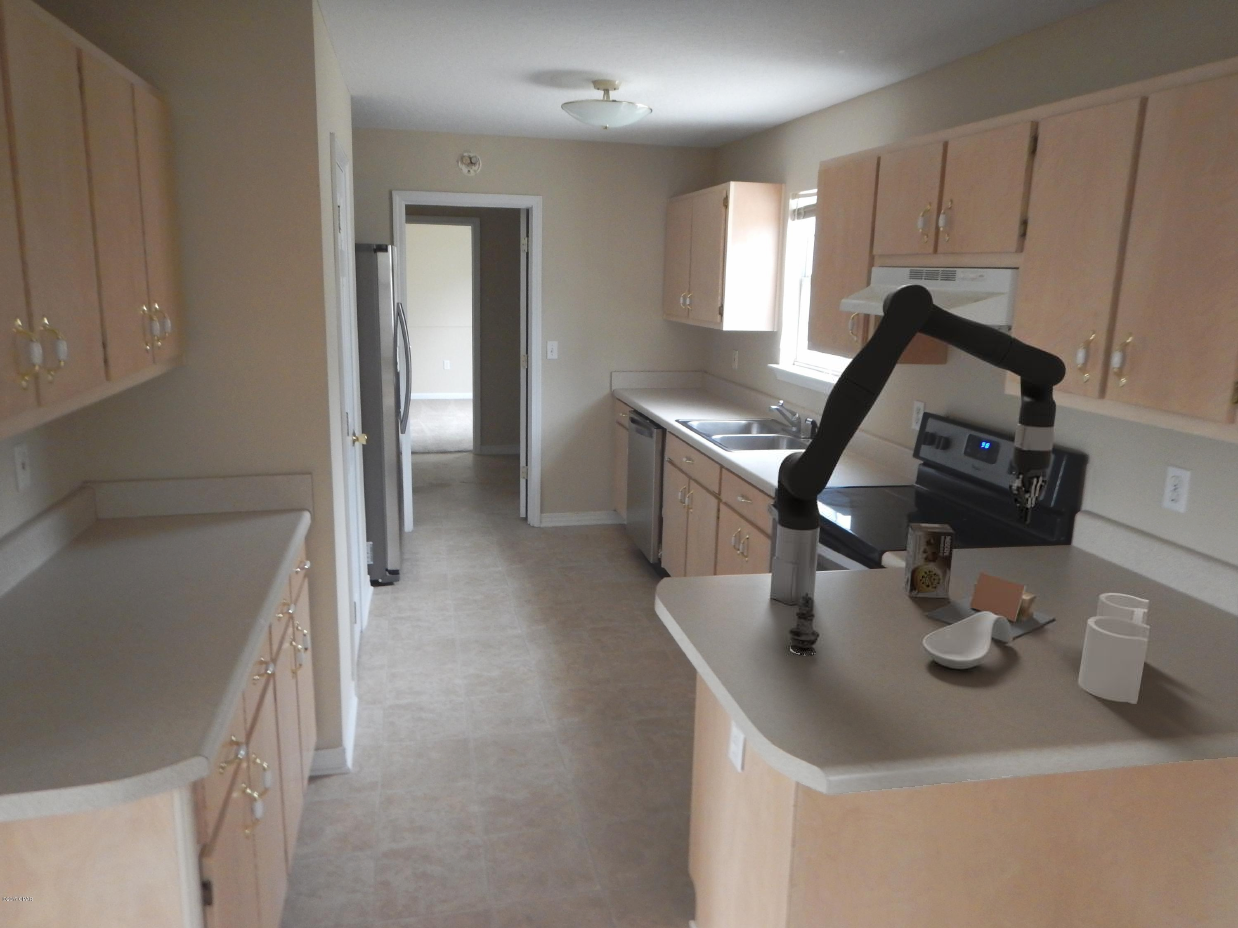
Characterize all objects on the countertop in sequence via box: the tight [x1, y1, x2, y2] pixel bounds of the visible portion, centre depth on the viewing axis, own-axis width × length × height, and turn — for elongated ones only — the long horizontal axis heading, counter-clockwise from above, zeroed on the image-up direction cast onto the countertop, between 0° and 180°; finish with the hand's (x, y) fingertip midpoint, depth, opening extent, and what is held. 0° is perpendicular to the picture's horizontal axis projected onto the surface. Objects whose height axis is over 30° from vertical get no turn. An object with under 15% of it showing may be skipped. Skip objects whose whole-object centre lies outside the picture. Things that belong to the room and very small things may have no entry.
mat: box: [924, 595, 1056, 644], centre depth 194 cm, size 22×18×1 cm
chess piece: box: [788, 593, 820, 656], centre depth 173 cm, size 6×6×12 cm
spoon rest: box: [922, 611, 1013, 670], centre depth 173 cm, size 24×12×7 cm, turn 130°
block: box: [973, 582, 1037, 621], centre depth 196 cm, size 4×12×5 cm, turn 39°
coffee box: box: [902, 522, 955, 599], centre depth 206 cm, size 9×6×16 cm
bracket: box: [1077, 592, 1151, 705], centre depth 167 cm, size 25×10×12 cm, turn 148°
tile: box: [969, 572, 1027, 622], centre depth 194 cm, size 4×10×8 cm, turn 39°
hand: (1023, 522), depth 196 cm, fingers closed
